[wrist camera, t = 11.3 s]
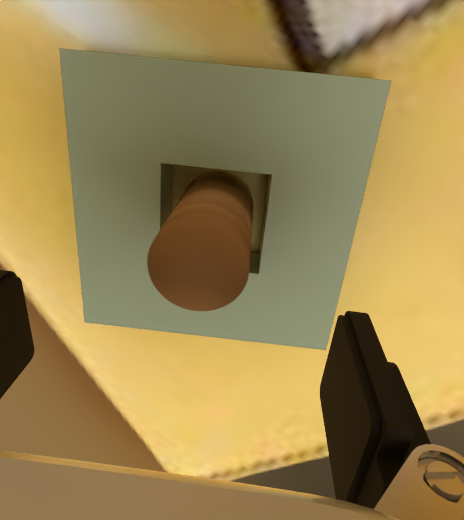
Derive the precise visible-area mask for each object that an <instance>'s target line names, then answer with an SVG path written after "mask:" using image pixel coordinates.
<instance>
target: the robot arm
mask: <svg viewBox="0 0 464 520" xmlns="http://www.w3.org/2000/svg"><path fill="white" fill-rule="evenodd" d="M33 354H34V345H33V339H32V334H31V329H30V323H29V319H28V313H27V308H26V302H25V297H24V292H23V287H22V282H21V279H20V278H19V277H17V276H16V274H15V273H14V272H12V271H5V270H0V398H1V397H2V396H3V395H4V393H5V392H6V391H7V390H8V388H9V387H10V386H11V385H12V383H13V382H14V381H15V380H16V378H17V377H18V376H19V375H20V373H21V372H22V371H23V370H24V368H25V367H26V366H27V365H28V363H29V362H30V361H31V359H32V357H33ZM320 400H321V406H322V412H323V419H324V425H325V432H326V438H327V444H328V451H329V457H330V464H331V469H332V476H333V483H334V489H335V496H336V499H333V498H328V497H323V496H318V495H313V494H307V493H301V492H295V491H288V490H282V489H276V488H270V487H263V486H256V485H250V484H243V483H237V482H230V481H223V480H215V479H208V478H201V477H194V476H187V475H180V474H173V473H166V472H158V471H152V470H144V469H137V468H130V467H122V466H115V465H107V464H100V463H93V462H85V461H78V460H70V459H63V458H55V457H47V456H41V455H33V454H25V453H18V452H10V451H2V450H0V520H464V458H463V457H462V456H460V455H459V454H457V453H456V452H453V451H451V450H450V449H448V448H445V447H442V446H438V445H432V444H431V443H430V441H429V439H428V436H427V434H426V431H425V429H424V427H423V424H422V422H421V420H420V417H419V415H418V413H417V410H416V408H415V406H414V403H413V401H412V399H411V396H410V394H409V392H408V389H407V387H406V385H405V382H404V380H403V378H402V375H401V373H400V371H399V369H398V367H397V365H396V364H394V363H391V362H387V359H386V357H385V354H384V352H383V349H382V347H381V344H380V342H379V339H378V337H377V334H376V332H375V329H374V327H373V324H372V322H371V319H370V317H369V315H368V314H367V313H361V312H352V311H347V312H346V313H345V316H343V315H339V317H338V319H337V323H336V327H335V331H334V334H333V338H332V342H331V346H330V350H329V354H328V358H327V362H326V365H325V369H324V373H323V377H322V381H321V385H320Z"/></svg>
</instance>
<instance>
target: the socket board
mask: <svg viewBox="0 0 464 520" xmlns="http://www.w3.org/2000/svg"><path fill="white" fill-rule="evenodd" d="M59 50H60V61H61V71H62V82H63V93H64V104H65V115H66V126H67V137H68V147H69V158H70V169H71V180H72V191H73V202H74V212H75V223H76V234H77V245H78V256H79V267H80V277H81V288H82V299H83V310H84V321H85V322H86V323H95V324H104V325H112V326H121V327H130V328H138V329H147V330H156V331H164V332H173V333H182V334H191V335H199V336H208V337H217V338H225V339H234V340H243V341H251V342H260V343H269V344H277V345H286V346H295V347H304V348H312V349H321V350H326V349H327V344H328V340H329V336H330V332H331V328H332V324H333V320H334V315H335V311H336V307H337V303H338V299H339V295H340V291H341V287H342V282H343V278H344V274H345V270H346V266H347V262H348V258H349V253H350V249H351V245H352V241H353V237H354V233H355V229H356V224H357V220H358V216H359V212H360V208H361V204H362V200H363V195H364V191H365V187H366V183H367V179H368V175H369V171H370V166H371V162H372V158H373V154H374V150H375V146H376V142H377V138H378V133H379V129H380V125H381V121H382V117H383V113H384V109H385V104H386V100H387V96H388V92H389V88H390V84H391V81H390V80H380V79H370V78H359V77H349V76H339V75H328V74H318V73H308V72H297V71H287V70H277V69H267V68H256V67H246V66H236V65H225V64H215V63H205V62H195V61H184V60H174V59H164V58H153V57H143V56H133V55H122V54H112V53H102V52H92V51H81V50H71V49H61V48H59ZM172 164H176V165H185V166H195V167H204V168H214V169H224V170H233V171H243V172H252V173H262V174H269V182H268V189H267V197H266V205H265V212H264V220H263V228H262V235H261V243H260V251H259V253H251V252H250V266H249V276H248V280H247V283H246V286H245V288H244V289H243V291H242V292H241V294H240V295H239V296H238V297H237V298H236V299H235V300H234V301H233V302H231V303H230V304H228V305H226V306H224V307H222V308H219V309H216V310H212V311H192V310H187V309H184V308H181V307H179V306H177V305H175V304H173V303H171V302H170V301H168V300H167V299H166V298H164V297H163V296H162V295H161V294H160V293H159V292H158V290H157V289H156V288H155V286H154V285H153V283H152V281H151V278H150V276H149V272H148V267H147V257H148V252H149V249H150V246H151V244H152V242H153V240H154V239H155V237H156V236H157V234H158V233H159V231H160V230H161V228H162V227H163V225H164V224H165V222H166V221H167V219H168V217H169V216H170V214H171V194H172Z"/></svg>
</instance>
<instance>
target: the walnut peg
mask: <svg viewBox="0 0 464 520" xmlns="http://www.w3.org/2000/svg"><path fill="white" fill-rule="evenodd" d="M252 219H253V198H252V194H251V192H250V190H249V188H248V186H247V185H246V184H245V183H244V182H243V180H241V179H240V178H239V177H237V176H236V175H234V174H232V173H229V172H225V171H210V172H207V173H204V174H202V175H200V176H199V177H197V178H196V179H195V180H194V181H193V182H192V183H191V184H190V186H189V187H188V189H187V190H186V192H185V193H184V195H183V196H182V198H181V199H180V201H179V202H178V204H177V205H176V207H175V208H174V210H173V211H172V213H171V214H170V216H169V217H168V219H167V221H166V222H165V224H164V225H163V227H162V228H161V230H160V231H159V233H158V234H157V236H156V237H155V239H154V240H153V242H152V244H151V246H150V249H149V252H148V257H147V267H148V272H149V276H150V278H151V281H152V283H153V285H154V286H155V288H156V289H157V290H158V292H159V293H160V294H161V295H162V296H163V297H164V298H166V299H167V300H168V301H170V302H171V303H173V304H175V305H177V306H179V307H181V308H184V309H187V310H192V311H212V310H216V309H219V308H222V307H224V306H226V305H228V304H230V303H231V302H233V301H234V300H235V299H236V298H237V297H238V296H239V295H240V294H241V292H242V291H243V289H244V288H245V286H246V283H247V280H248V276H249V266H250V251H251V235H252Z"/></svg>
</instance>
